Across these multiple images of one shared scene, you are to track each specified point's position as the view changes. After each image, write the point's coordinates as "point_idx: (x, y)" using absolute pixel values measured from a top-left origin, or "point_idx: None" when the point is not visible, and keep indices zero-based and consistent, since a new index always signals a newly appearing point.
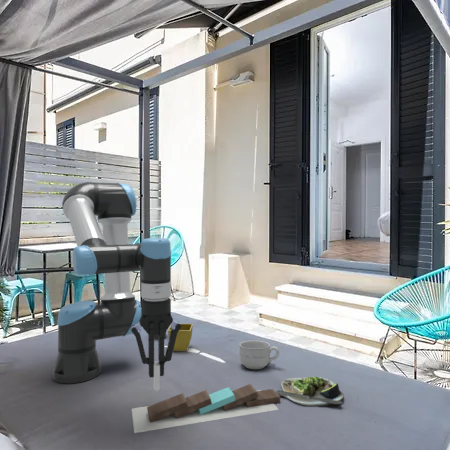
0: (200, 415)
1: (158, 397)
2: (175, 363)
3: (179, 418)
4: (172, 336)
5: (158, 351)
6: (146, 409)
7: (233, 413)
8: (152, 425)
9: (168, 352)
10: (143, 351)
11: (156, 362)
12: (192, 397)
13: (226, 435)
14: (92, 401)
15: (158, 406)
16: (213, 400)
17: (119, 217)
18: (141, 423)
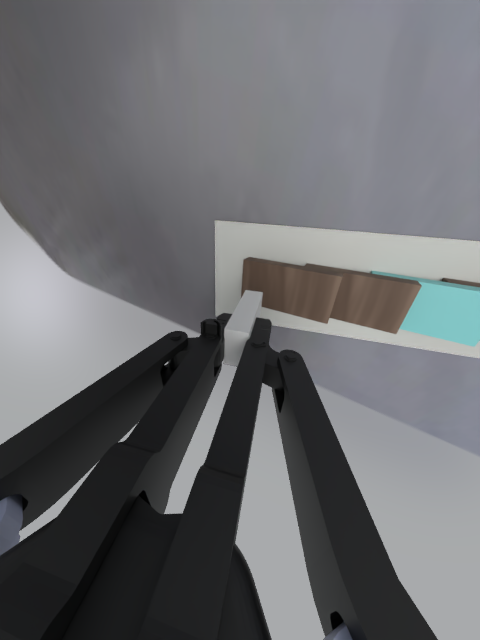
0: None
1: (296, 167)
2: None
3: None
4: (307, 542)
5: (237, 368)
6: (247, 239)
7: (428, 338)
8: None
9: (279, 416)
10: (150, 405)
11: (238, 338)
12: (362, 288)
13: (359, 380)
14: (116, 123)
15: (266, 282)
16: (408, 317)
17: None
18: (230, 292)
